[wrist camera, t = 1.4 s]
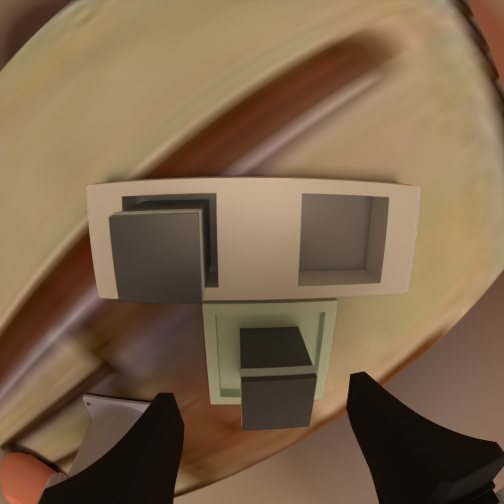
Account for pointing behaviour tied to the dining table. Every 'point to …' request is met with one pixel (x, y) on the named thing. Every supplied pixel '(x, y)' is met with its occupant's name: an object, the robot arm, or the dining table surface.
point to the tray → (263, 316)
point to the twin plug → (162, 251)
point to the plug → (275, 379)
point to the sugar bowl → (23, 477)
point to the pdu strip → (280, 233)
